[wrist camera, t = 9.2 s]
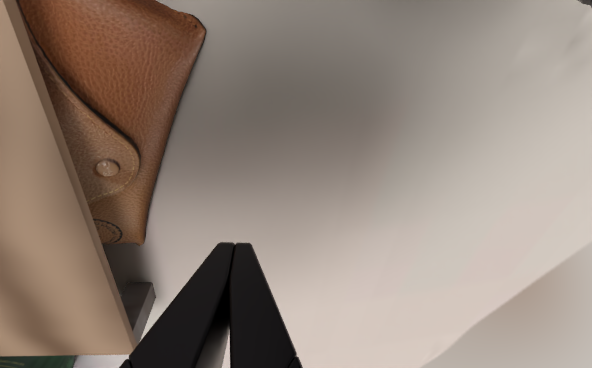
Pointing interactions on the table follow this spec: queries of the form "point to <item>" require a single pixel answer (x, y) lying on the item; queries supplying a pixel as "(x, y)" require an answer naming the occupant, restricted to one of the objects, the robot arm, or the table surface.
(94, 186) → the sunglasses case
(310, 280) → the table surface
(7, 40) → the brown box
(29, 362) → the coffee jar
